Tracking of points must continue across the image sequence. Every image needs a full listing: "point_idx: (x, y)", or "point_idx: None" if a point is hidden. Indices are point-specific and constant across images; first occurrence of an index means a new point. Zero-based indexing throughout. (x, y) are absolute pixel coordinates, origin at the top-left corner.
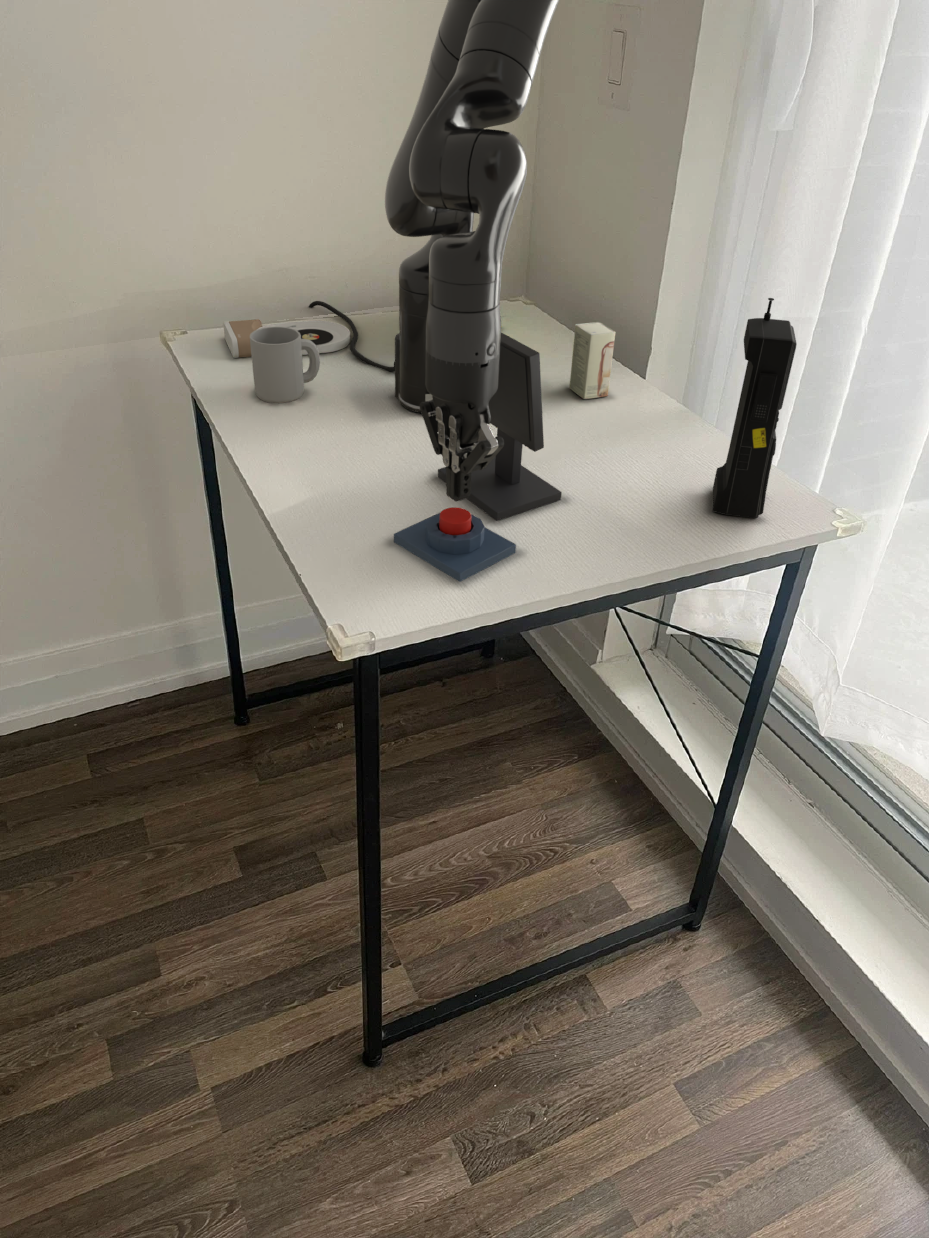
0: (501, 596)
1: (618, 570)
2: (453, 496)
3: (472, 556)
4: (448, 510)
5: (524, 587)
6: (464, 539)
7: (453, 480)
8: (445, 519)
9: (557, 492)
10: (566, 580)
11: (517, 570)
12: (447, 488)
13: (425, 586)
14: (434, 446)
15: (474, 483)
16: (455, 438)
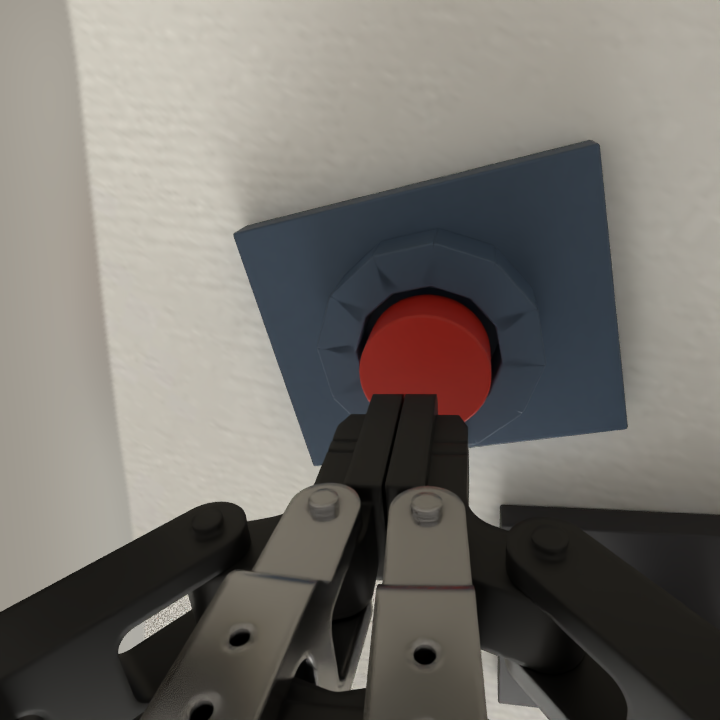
0: (142, 295)
1: None
2: (372, 402)
3: (306, 323)
4: (471, 374)
5: (163, 372)
6: (322, 332)
7: (360, 451)
8: (411, 325)
9: (502, 695)
10: (160, 472)
11: (243, 404)
12: (424, 412)
13: (268, 106)
14: (585, 555)
15: (715, 577)
16: (167, 702)
